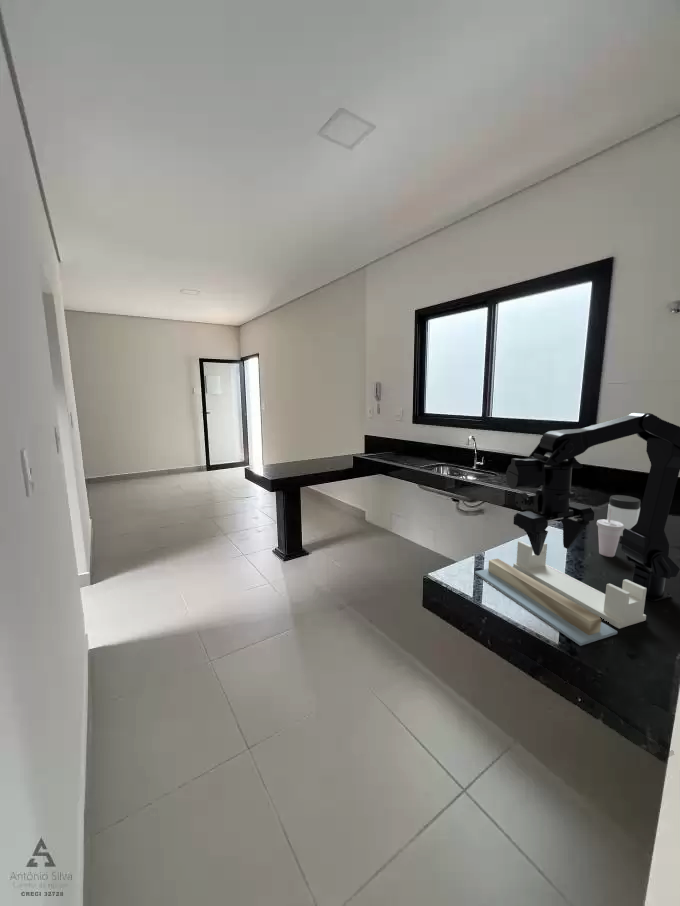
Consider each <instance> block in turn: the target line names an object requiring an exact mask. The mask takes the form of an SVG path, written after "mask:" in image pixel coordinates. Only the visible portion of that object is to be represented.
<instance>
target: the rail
mask: <svg viewBox="0 0 680 906" xmlns="http://www.w3.org/2000/svg"><path fill="white" fill-rule="evenodd" d="M487 569H488V571H489V572H491V573H493V574H494V575H496V576H497V577H499V578H500V579H502V580H503V581H505V582H507V583H508V584H510V585H511V586H513V587H514V588H516V589H517V590H519V591H521V592H522V593H524V594H525V595H527V596H528V597H530V598H532V599H533V600H535V601H536V602H538V603H539V604H541V605H542V606H544V607H546V608H547V609H549V610H550V611H552V612H553V613H555V614H556V615H558V616H560V617H561V618H563V619H564V620H566V621H567V622H569V623H571V624H572V625H574V626H575V627H577V628H578V629H580V630H581V631H583V632H585V633H586V634H588V635H592V634H595V633H598V632H600V627H601V622H602V619H601V618H600V617H599V616H597V615H595V614H593V613H592V612H590V611H588V610H586V609H585V608H583V607H581V606H580V605H578V604H576V603H574V602H573V601H571V600H569V599H567V598H566V597H564V596H562V595H560V594H559V593H557V592H555V591H553V590H552V589H550V588H548V587H547V586H545V585H543V584H541V583H540V582H538V581H536V580H534V579H533V578H531V577H529V576H527V575H526V574H524V573H522V572H521V571H519V570H517V569H515V568H514V567H513V566H512V565H510V564H508V563H507V562H505V561H503V560H501V559H500V558H494V559H489V560H488V568H487Z"/></svg>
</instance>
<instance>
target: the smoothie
mask: <svg viewBox="0 0 680 906" xmlns="http://www.w3.org/2000/svg"><path fill="white" fill-rule="evenodd" d="M611 509H612V508H609V515H608V520H607V518H606V519H603V518H602V519H597V521H596V526H597V531H598V533H597V534H598V535H597V536H598V553H599V555H601V556H604V557H609V558H613V557H615V555H616V552H617V549H618V545H619V542H620V539H621V536H620V535H621V531H622V529H624V525H623V524H622V523H620V522H617V521H613V520H610V518H611Z"/></svg>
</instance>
